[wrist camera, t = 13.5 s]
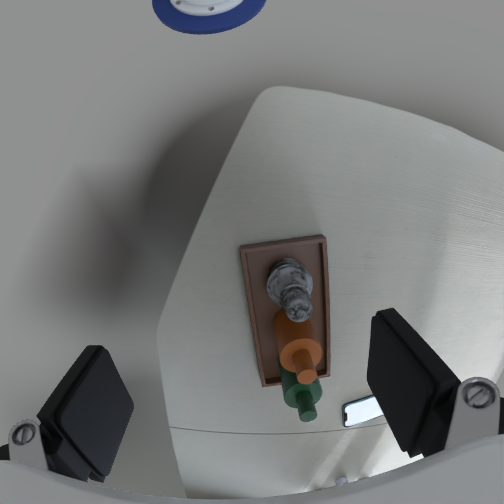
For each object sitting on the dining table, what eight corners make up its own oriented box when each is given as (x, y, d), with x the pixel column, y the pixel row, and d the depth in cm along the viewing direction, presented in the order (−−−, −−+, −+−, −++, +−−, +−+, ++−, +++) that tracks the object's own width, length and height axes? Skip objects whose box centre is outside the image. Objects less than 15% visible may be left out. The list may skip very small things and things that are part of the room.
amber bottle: (271, 307, 40) (281, 363, 28) (306, 302, 40) (330, 354, 28) (274, 338, 42) (285, 397, 29) (308, 332, 42) (330, 389, 29)
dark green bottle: (276, 347, 42) (286, 407, 30) (309, 342, 42) (329, 399, 30) (279, 372, 44) (288, 432, 31) (310, 367, 44) (328, 424, 31)
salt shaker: (276, 248, 38) (289, 281, 26) (314, 265, 39) (341, 303, 27) (257, 286, 39) (262, 331, 28) (295, 301, 40) (312, 349, 29)
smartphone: (414, 378, 47) (342, 404, 47) (415, 379, 46) (342, 406, 46) (410, 402, 49) (343, 427, 49) (411, 404, 48) (343, 428, 48)
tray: (240, 245, 38) (240, 249, 36) (322, 234, 38) (326, 237, 36) (261, 379, 45) (262, 387, 43) (327, 368, 44) (330, 376, 42)
